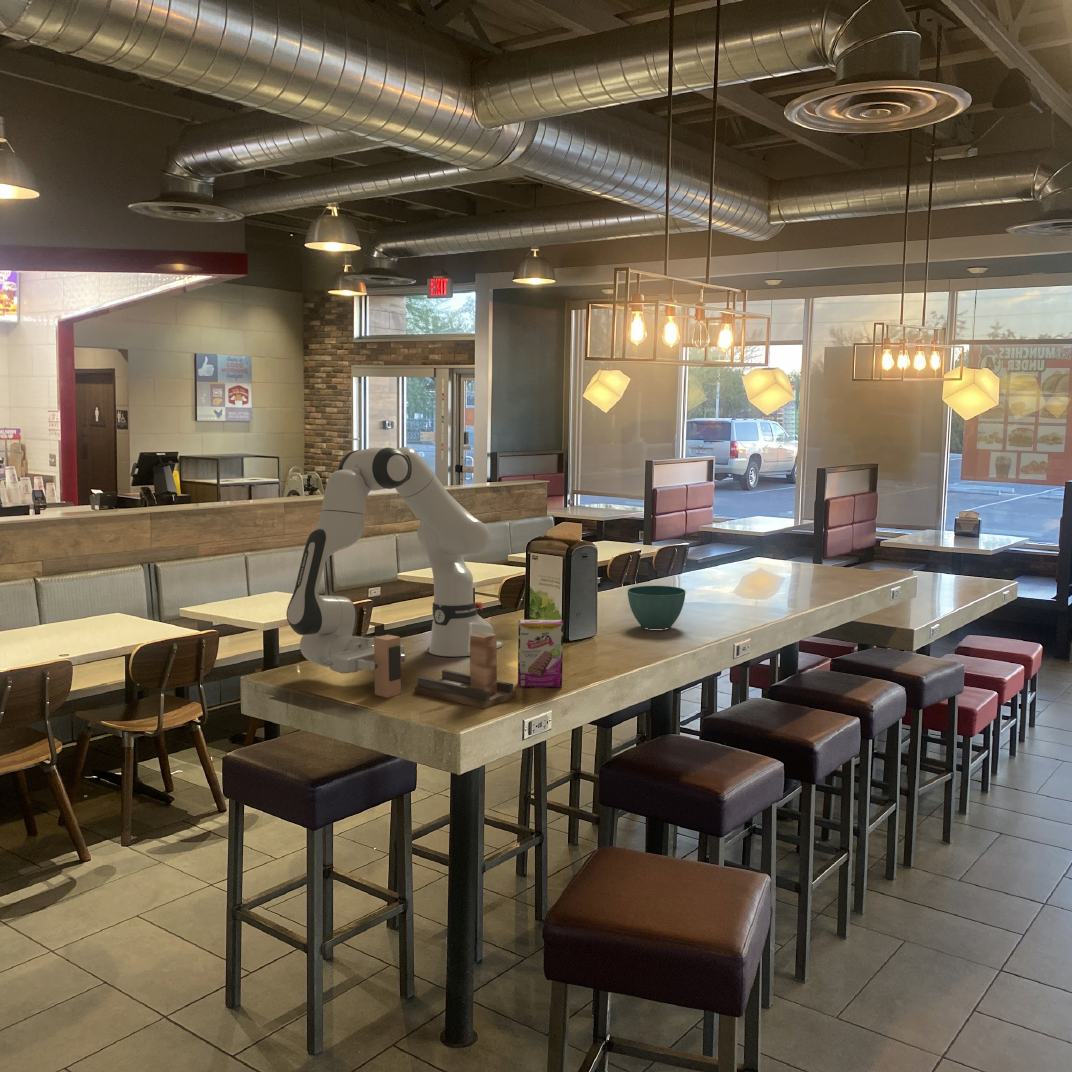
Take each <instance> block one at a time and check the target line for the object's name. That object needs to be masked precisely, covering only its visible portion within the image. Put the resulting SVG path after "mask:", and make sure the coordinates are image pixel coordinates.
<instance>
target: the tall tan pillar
mask: <svg viewBox="0 0 1072 1072" xmlns="http://www.w3.org/2000/svg"><path fill="white" fill-rule="evenodd" d="M400 644H401V636H396V635H392V634H385V635H384V634H383V635H379V636H378V637H375V638H374V661H377V663H378V665H377V666H378V668H377V669H374V695H375V696H379V697H383V698H387V699H388V698H392V697H395V696H398V695H401V694H402V680H401V679H402V678H401V677H402V675H401V674H402V673H401V672H402V671H401V669H402V668H401V663H402V662H401V656H400Z"/></svg>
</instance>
